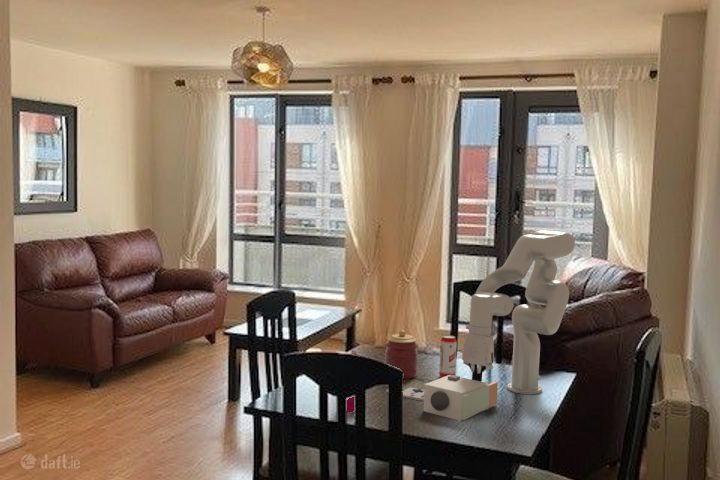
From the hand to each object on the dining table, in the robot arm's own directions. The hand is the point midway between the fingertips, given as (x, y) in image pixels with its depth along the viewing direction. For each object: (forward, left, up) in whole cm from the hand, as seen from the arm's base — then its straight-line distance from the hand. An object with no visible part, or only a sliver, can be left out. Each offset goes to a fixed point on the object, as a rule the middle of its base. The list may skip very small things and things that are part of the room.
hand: (476, 383), depth 239 cm
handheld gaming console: (+6, -18, -8) cm, 20 cm away
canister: (-12, -40, -7) cm, 42 cm away
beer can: (-22, -25, -7) cm, 34 cm away
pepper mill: (+35, -27, -7) cm, 44 cm away
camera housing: (+12, -2, -7) cm, 14 cm away
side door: (+9, +6, -6) cm, 12 cm away
